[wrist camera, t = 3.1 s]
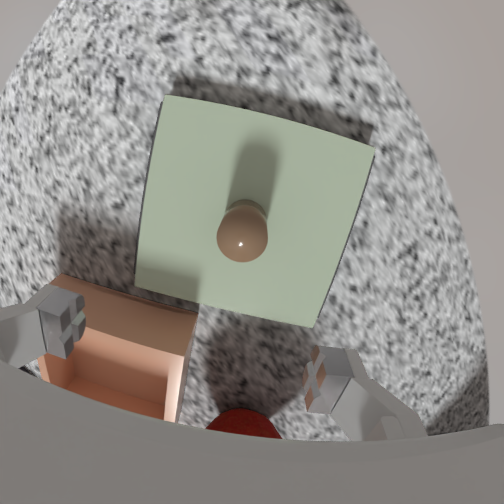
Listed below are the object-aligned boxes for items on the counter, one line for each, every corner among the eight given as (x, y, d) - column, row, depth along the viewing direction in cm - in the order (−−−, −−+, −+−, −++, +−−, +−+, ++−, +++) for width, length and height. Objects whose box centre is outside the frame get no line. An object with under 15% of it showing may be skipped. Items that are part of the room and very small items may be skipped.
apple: (275, 447, 34) (276, 528, 23) (191, 433, 34) (174, 515, 22) (304, 393, 30) (316, 492, 19) (202, 375, 30) (181, 477, 18)
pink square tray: (198, 313, 27) (184, 356, 21) (181, 409, 32) (171, 450, 26) (61, 273, 26) (26, 303, 20) (72, 373, 31) (50, 407, 25)
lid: (371, 147, 21) (398, 152, 16) (310, 321, 26) (319, 359, 21) (169, 96, 20) (144, 87, 15) (138, 280, 25) (115, 311, 21)
